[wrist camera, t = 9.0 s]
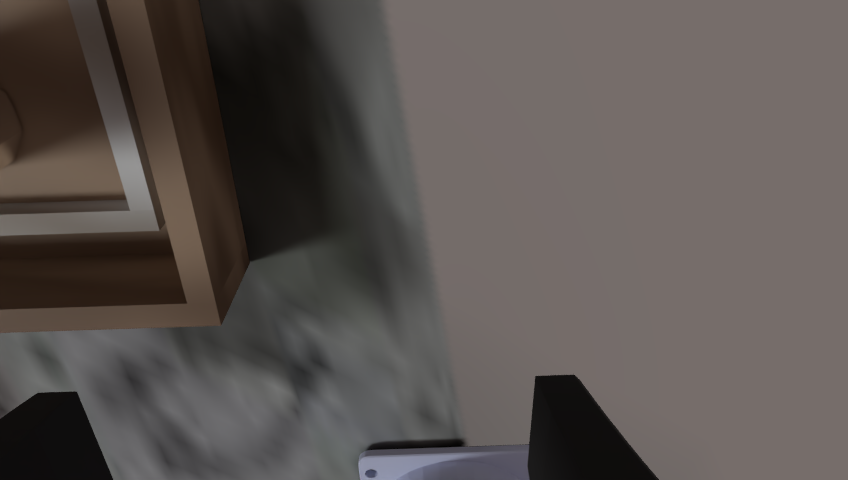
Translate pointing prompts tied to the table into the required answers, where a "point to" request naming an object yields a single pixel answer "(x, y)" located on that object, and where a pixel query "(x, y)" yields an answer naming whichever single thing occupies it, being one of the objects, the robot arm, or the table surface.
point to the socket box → (114, 170)
